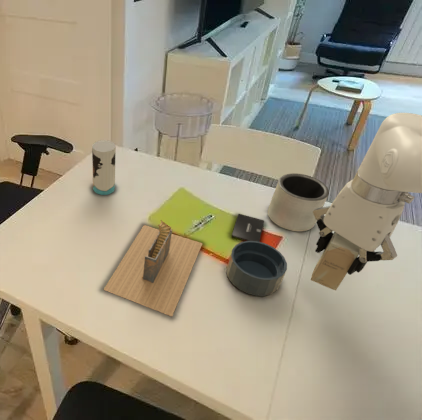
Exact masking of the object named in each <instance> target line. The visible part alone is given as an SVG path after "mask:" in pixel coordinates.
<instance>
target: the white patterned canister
mask: <svg viewBox="0 0 422 420" xmlns="http://www.w3.org/2000/svg"><path fill="white" fill-rule="evenodd" d="M116 148H117V146H116V144H115V142H113V141H111V140H108V139H107V140H106V139H100V140H97V141H95V142H93V143H92V145H91V157H92V158H91V159H92V160H91V161H92V163H91V164H92V190H93V192H94V193H95V194H98V195H101V196H108V195H111V194H112V193H114V192H115V190H116V153H117V152H116Z"/></svg>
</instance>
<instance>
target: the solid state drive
mask: <svg viewBox="0 0 422 420" xmlns="http://www.w3.org/2000/svg"><path fill="white" fill-rule="evenodd" d="M264 223H265V220H264V219H260V218H257V217H253V216H249V215H246V214H241V213H238V214H237V217H236V219H235V224H234V226H233V230H232V233H231V238H234V239H238V240H242V241H243V242H245V241H258V242H261V236H262V233H263V229H264V228H263V227H264Z"/></svg>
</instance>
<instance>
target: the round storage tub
mask: <svg viewBox="0 0 422 420" xmlns="http://www.w3.org/2000/svg"><path fill="white" fill-rule="evenodd" d="M287 270H288V263H287V260H286V258H285V256H284V255H283V254H282V253H281V252H280V250H278V249H276V248H275V247H274V246H272V245H271V244H268V243H265V242H262V241H259V242H258V241H246V240H245V241H241V242H239V243H237V244H235V245H234V247H233V248H232V249H231V252H230V255H229V258H228V262H227V266H226V270H225V272H226V275H227V278H228V280H229V281H230V283H231V284H232V285H233V286H234V287H236V288H237V289H238V290H240V291H241V292H244V293H245V294H249V295H252V296H258V297H259V296H260V297H265V296H270V295H272V294H274V293H275V292H276V291H278V289H279V287H280V285H281V284H282V281H283V279H284V277H285V275H286V273H287Z"/></svg>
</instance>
